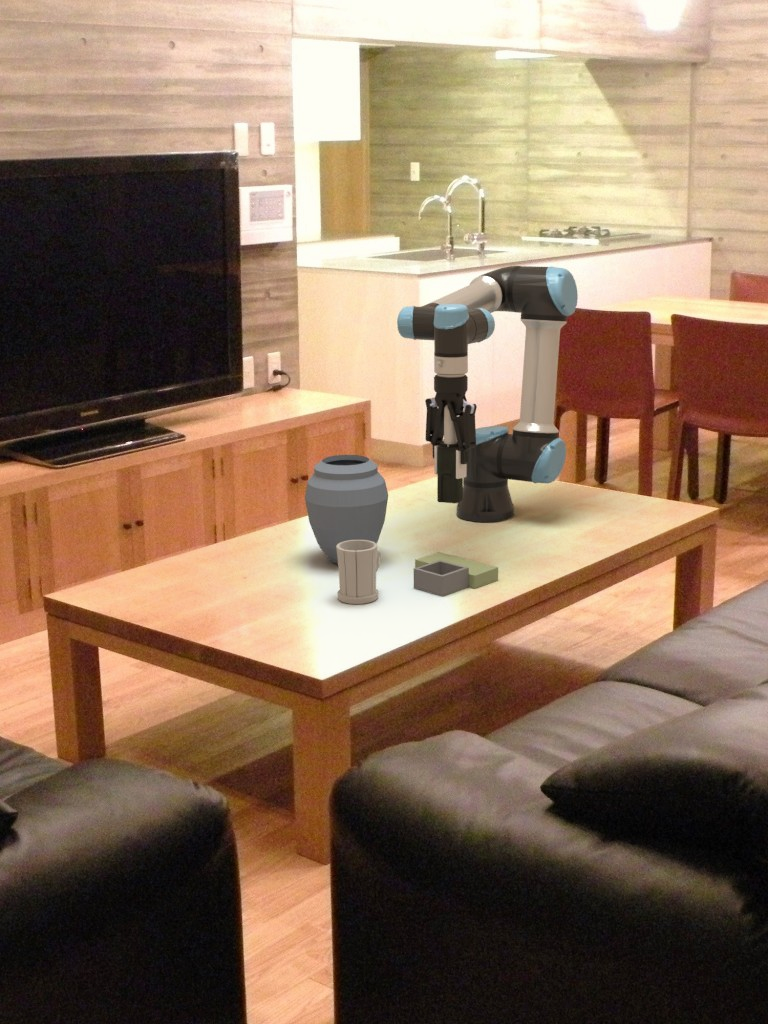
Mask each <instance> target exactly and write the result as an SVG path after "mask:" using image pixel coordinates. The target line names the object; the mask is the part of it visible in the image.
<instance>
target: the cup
mask: <svg viewBox="0 0 768 1024" xmlns="http://www.w3.org/2000/svg"><path fill="white" fill-rule="evenodd" d="M378 546H379V545H378V543H377V544H376V543H375V542H372V541H368V540H349V541H344V542H341V543H339V544H337V546H336V548H337V557H338V564H337V565H338V580H339V581H338V583H339V590H338V591H337V599H338V600H339V601H341V602H342V603H345V604H350V605H366V604H369V603H370V604H371V603H373V602H375V601H376V600H377V599H378V598H379V590H378V589H377V572H378V571H379V568H380V557H381V555H380V552H379V550H378Z"/></svg>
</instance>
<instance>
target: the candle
mask: <svg viewBox="0 0 768 1024" xmlns="http://www.w3.org/2000/svg"><path fill="white" fill-rule="evenodd" d="M456 417H458V416H456ZM458 448H459V446H458V442H457V437H456V433H455V428H454V423H453V421H452V420H451V417H450V412H449V410H448V407H447V405H446V406H445V407H444V437H443V442H441V443H440V445H439V446H438V474H437V480H436V481H437V485H436V486H437V492H436V493H437V499H436V500H437V502H438V503H445V504H446V503H447V504H448V503H449V504H458V503H459V502H460V501H462V500H463V478H460V479H456V450H457V449H458Z"/></svg>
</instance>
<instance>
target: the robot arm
mask: <svg viewBox="0 0 768 1024" xmlns="http://www.w3.org/2000/svg"><path fill="white" fill-rule="evenodd" d="M578 295H579V294H578V287H577V282H576V280H575V278H574V275H573V274H572V273H571V272H570V270H568V269H567V268H564V267H563V268H562V267H556V266H527V265H523V266H522V265H510V266H503V267H501V268H497V269H494V270H491V271H489V272H486V273H484V274H481V275H479V276H477V277H475V278H474V279H472V280H471V282H470V283H469V285H467V286H464V287H462V288H460V289H458V290H456V291H452V292H451V293H448V294H447V295H445V296H443V297H440V298H438V299H435V300H433V301H431V302H429V303H427V304H424V305H421V306H416V305H412V306H404V307H402V308H401V309H400V311H399V313H398V315H397V319H396V321H397V322H396V323H397V331H398V333H399V335H400V336H401V337H402V338H404V339H411V340H414V341H416V340H420V341H422V340H424V341H433V343H434V353H433V355H434V356H433V357H434V358H433V364H434V365H433V366H434V371H433V372H434V374H435V375H434V376H433V390H434V392H435V396H434V397H430V398H426V399H425V400H424V402H425V405H426V420H425V421H426V422H425V441H426V442H429V443H430V444H431V445H432V459H434V461H433V462H434V464H433V465H434V467H433V468H434V469H433V471H434V472H433V473H434V475H438V446H439V445H440V443H441V442H443V441H444V407H445V406H446V405H447V407H448V410H449V412H450V417H451V420H452V421H453V423H454V428H455V433H456V437H457V442H458V446H459V448H458V449H457V450H456V479H460V478H463V500H462V501H460V502H459V503H456V516H457V517H458V518H459V519H462V520H465V521H470V522H476V523H477V522H478V523H494V522H501V521H506V520H507V521H508V520H509V519H512V518H513V517H514V516H515V505H514V503H513V500H512V496H511V492H510V490H509V481H510V480H512V481H518V482H519V481H520V482H521V481H522V482H528V483H529V482H530V483H533V484H552V483H553V482H554V481H556V480H557V479H558V477H559V476H560V474H561V473H562V470H563V468H564V465H565V461H566V458H567V447H566V442H565V441H564V440H563V439H562V438H560V437H559V434H560V430H559V429H558V428H557V427H556V425H555V424H554V422H555V421H554V420H555V406H556V393H557V382H558V381H557V379H558V365H559V351H560V338H561V337H560V336H561V335H560V334H561V330H562V328H563V327H564V326H565V325H567V323H568V317H570V316H572V315H573V314H575V311H576V309H577V308H576V307H577V306H578ZM495 312H508V313H519V314H520V321H521V323H522V324H523V325H524V327H525V336H524V338H525V339H524V340H525V341H524V353H523V367H522V381H521V383H522V385H521V396H520V397H521V398H520V410H519V411H520V412H519V422H518V423H517V424H516V425H515V426H514V427H513V428H512V434H511V433H510V430H509V428H508V427H507V426H503V425H492V426H484V427H477V428H476V411H477V404H476V403H470V402H468V401H467V398H466V397H467V396H466V393H467V392H468V385H469V384H468V380H469V377H468V376H467V375H466V374H467V373H468V372H469V363H468V362H469V360H468V357H469V355H468V353H469V352H468V350H469V349H468V347H469V345H471V344H476V343H481V342H483V341H485V340H488V339H489V338H490V337H491V336H492V335H493V334H494V332H495V328H496V327H495V326H496V322H495V318H494V316H493V315H492V313H495ZM456 416H457V417H456Z"/></svg>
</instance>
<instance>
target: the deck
mask: <svg viewBox="0 0 768 1024" xmlns="http://www.w3.org/2000/svg"><path fill="white" fill-rule="evenodd" d="M498 581H499V567H498V566H494V565H490V564H486V563H482V562H479V561H475V560H471V559H466V558H463V557H461V556H460V557H459V556H456V555H451V554H448V553H444V552H440V551H438V552H434V553H431V554H428V555H425V556H422V557H419V558H415V560H414V568H413V589H416V590H419V591H423V592H426V593H430V594H433V595H436V596H440V597H444V596H448V595H450V594H453V593H454V594H455V593H456V592H459V591H462V590H465V589H467V588H471V589H477V588H480V587H483V586H485V585H488V584H491V582H492V583H494V582H498Z"/></svg>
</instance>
